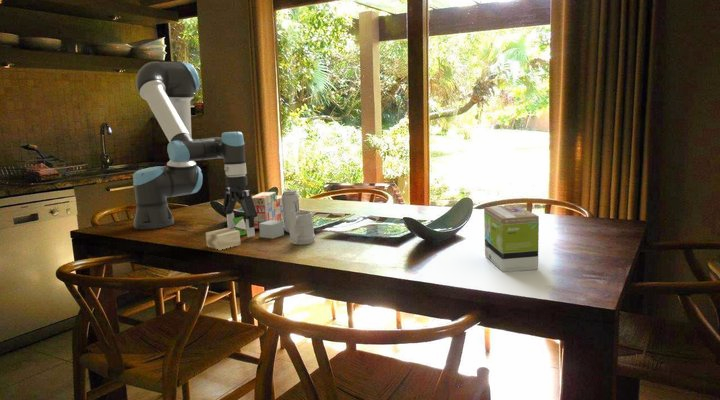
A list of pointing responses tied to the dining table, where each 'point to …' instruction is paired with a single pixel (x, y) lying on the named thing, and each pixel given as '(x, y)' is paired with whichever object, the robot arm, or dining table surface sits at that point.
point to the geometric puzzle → (240, 225)
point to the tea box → (511, 238)
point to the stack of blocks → (267, 207)
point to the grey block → (271, 229)
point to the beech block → (223, 238)
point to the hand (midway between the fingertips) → (241, 233)
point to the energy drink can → (289, 206)
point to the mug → (301, 228)
